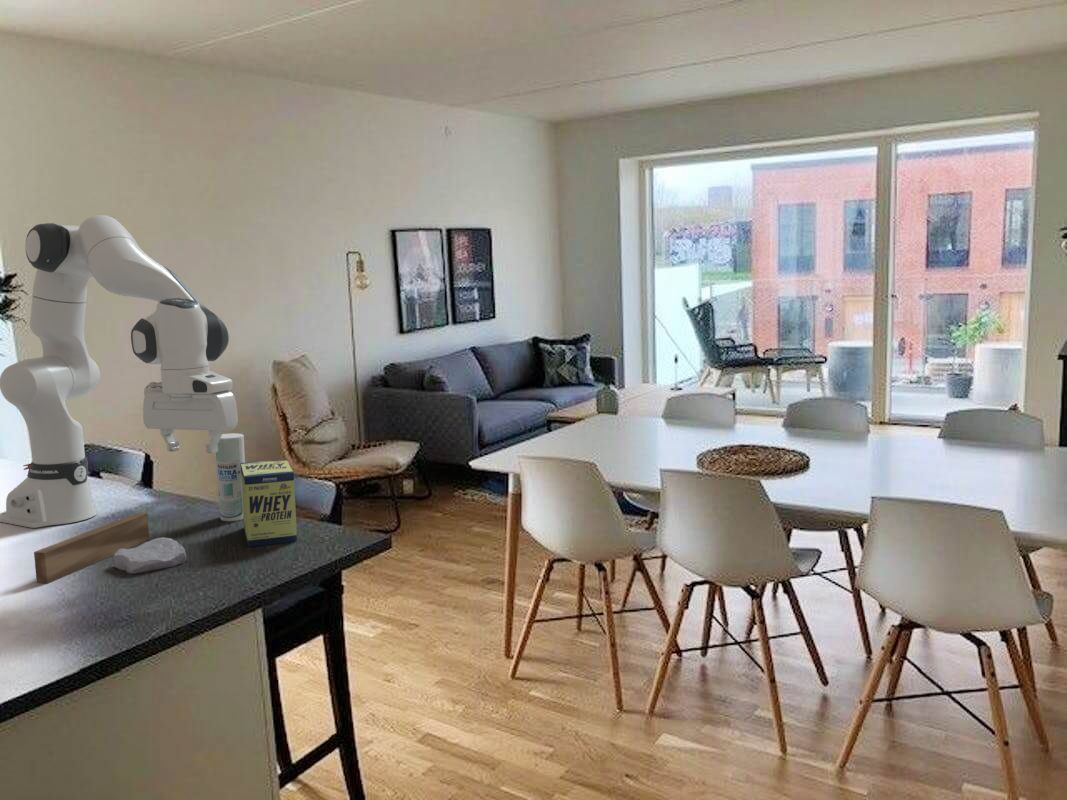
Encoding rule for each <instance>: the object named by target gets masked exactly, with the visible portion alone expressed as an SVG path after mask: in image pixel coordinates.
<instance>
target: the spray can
mask: <svg viewBox="0 0 1067 800" xmlns="http://www.w3.org/2000/svg"><path fill="white" fill-rule="evenodd" d="M245 455H246V454H245V435H244V434H243V433H237V432H236V433H234V432H232V433H222V436H221V438H220V440H219V442H218V452H216V453H215V460H216V462H215V463H216V475H217V489H218V490H217V491H218V505H219V506H218V507H219V518H220V520H221V521H223V522H224V521H225V522H236V521H241V520H244V519H243V502H242V483H241V466H240V463H246V457H245Z"/></svg>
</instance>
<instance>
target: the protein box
mask: <svg viewBox="0 0 1067 800" xmlns="http://www.w3.org/2000/svg"><path fill="white" fill-rule="evenodd" d="M240 466H241V483H242V502H243V519H242V520H243V528H244V535H245V539H246V543H247V544H246V545H247V547H249V548H250V547H257V546H267V545H275V544H286V543H292V542H293V543H294V542H298V540H297V538H298V537H297V536H298V535H297V534H298V533H297V532H298V531H297V518H296V517H297V513H296V512H297V511H296V495H295V494H296V492H295V472H294V471H293V468H292V467H291V465H290V463H289V461H288V460H287V459H275V460H262V461H248V462H246V461H245V463H240Z"/></svg>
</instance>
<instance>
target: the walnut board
mask: <svg viewBox="0 0 1067 800" xmlns="http://www.w3.org/2000/svg"><path fill="white" fill-rule="evenodd" d="M148 515H149V514H148V513H147V512H135V513H133V514H130V515H128V516H125V517H122V518H120V519H117V520H115V521H113V522H109V523H107V524H104V525H102V526H98V527H96V528H94V529H90V530H88V531H85V532H83V533H80V534H77V535H75V536H72V537H70V538H68V539H67V538H66V539H64V540H62V541H59V542H57V543H54V544H51V545H49V546H46V547H43V548H41V549H38V550H35V551H34V552H33V557H34V569H35V577H36V583H39V584H50V583H52V582H55V581H57V580H58V579H59V580H60V579H61V578H63V577H67V576H68V575H71V574H74V573H77V571H79V570H82V569H85V568H87V567H89V566H92V565H94V564H97V563H99V562H101V561H103V560H105V559H107V558H111V557H112V556H113V557H114V554H115V553H116V552H117V551H118V550H119V549H131V548H135V547H137V546H139V545H142V544H143V543H145V542H148V541H150V531H149V517H148Z"/></svg>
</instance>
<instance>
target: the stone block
mask: <svg viewBox="0 0 1067 800" xmlns="http://www.w3.org/2000/svg"><path fill="white" fill-rule="evenodd" d="M185 562H187V553H186V549H185V548H184V546H183V545H182V544H180V543H179V542H178V541H177V540H174V539H173V538H170V537H156V538H153V539H151V540H148V541H145V542H143V543H141V544H139V545H137V546H135V547H131V548H129V549H119V550H118V551H117V552H116V553H115V554H114V555H113V558H112V563H113V566H114V568H116V569H118V570H120V571H126V573H128V574H131V575H133V574H138V573H145V572H149V571H154V570H155V571H156V570H161V569H166V568H170V567H175V566H176V567H177V565H181V564H182V563H185Z"/></svg>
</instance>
